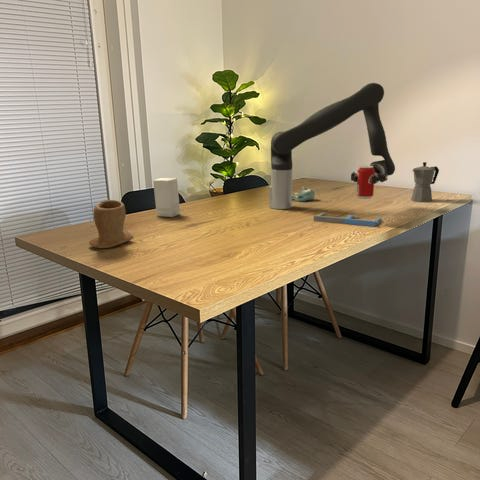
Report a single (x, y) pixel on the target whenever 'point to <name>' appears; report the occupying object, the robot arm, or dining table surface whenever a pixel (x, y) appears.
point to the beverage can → (365, 182)
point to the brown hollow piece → (110, 224)
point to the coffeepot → (423, 183)
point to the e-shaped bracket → (346, 220)
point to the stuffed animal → (304, 195)
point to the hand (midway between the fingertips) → (363, 179)
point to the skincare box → (166, 197)
